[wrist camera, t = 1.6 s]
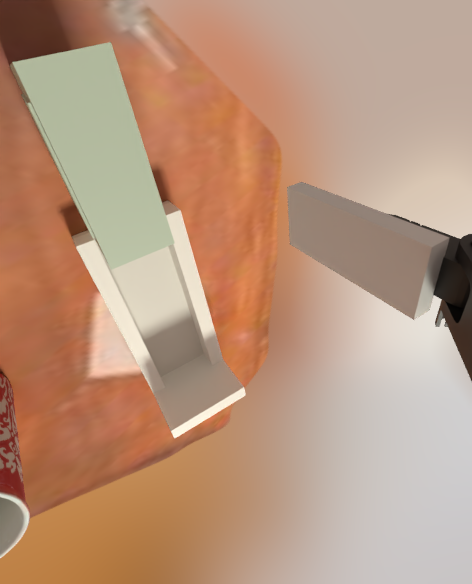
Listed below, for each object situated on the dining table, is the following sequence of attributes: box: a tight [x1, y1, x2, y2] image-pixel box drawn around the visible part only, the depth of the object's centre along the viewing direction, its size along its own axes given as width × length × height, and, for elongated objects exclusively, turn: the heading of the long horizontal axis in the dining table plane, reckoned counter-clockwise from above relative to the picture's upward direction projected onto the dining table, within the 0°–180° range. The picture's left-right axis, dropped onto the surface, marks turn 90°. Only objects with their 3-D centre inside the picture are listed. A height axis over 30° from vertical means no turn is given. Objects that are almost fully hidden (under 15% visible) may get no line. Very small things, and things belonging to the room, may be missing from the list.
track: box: [72, 201, 246, 438], centre depth 34 cm, size 22×9×8 cm, turn 11°
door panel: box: [10, 42, 175, 270], centre depth 21 cm, size 10×4×12 cm, turn 11°
